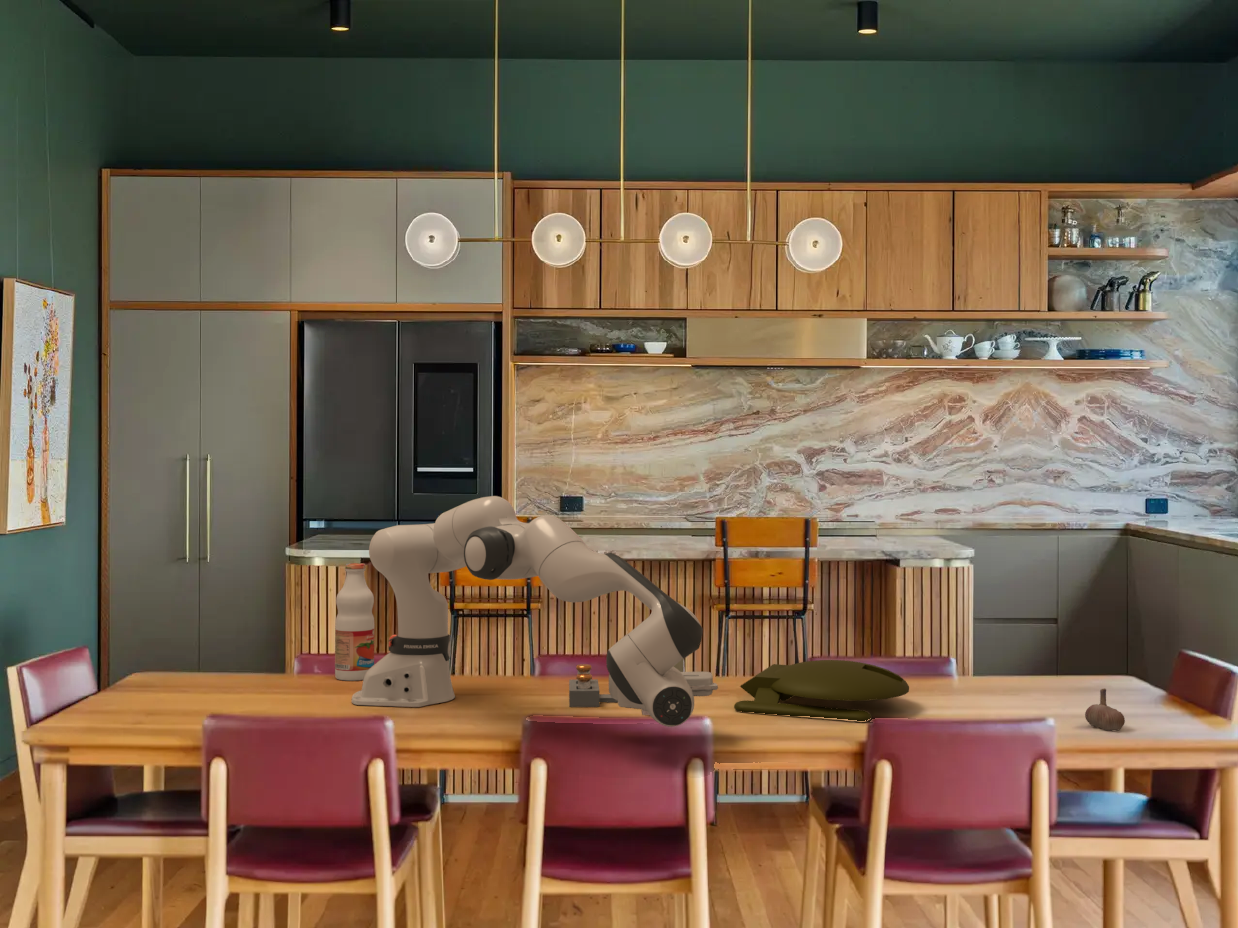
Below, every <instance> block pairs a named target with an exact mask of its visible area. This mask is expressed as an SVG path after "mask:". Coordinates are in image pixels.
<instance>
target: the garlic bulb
mask: <svg viewBox="0 0 1238 928" xmlns="http://www.w3.org/2000/svg"><path fill="white" fill-rule="evenodd" d="M1099 692H1100V693H1099V695H1100V696H1099V697H1100V698H1099V701H1100V702H1099V704H1098V703H1096V704H1095V703H1094V704H1091V705H1090V706H1089V707H1088V708H1087V709H1086V710H1085V712H1084V715H1085V716H1084V717H1085V720H1086V722H1087V723H1088V724H1089V725H1091V726H1092V727H1094V728H1100V729H1102V728H1103V730H1105V731H1111V730H1116V731H1119V730H1121V728H1123V727H1124V725H1125V722H1126V721H1125V720H1126V719H1125V715H1124V714H1123V713H1122V712H1121V711H1119V710H1117V708H1113V707H1111V706H1108V705H1107V689H1106V688H1101V689H1100V691H1099Z"/></svg>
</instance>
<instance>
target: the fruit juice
mask: <svg viewBox="0 0 1238 928" xmlns="http://www.w3.org/2000/svg"><path fill="white" fill-rule="evenodd" d="M344 569H345V573H346V577H345V580H344V583H343V586H342V587H341V589H340V590H339V592H338V593H337V594H336V598H335V603H336V608H337V615H336V617H335V625H334V627H335V628H334V629H335V634H334V635H335V637H334V640H335V641H334V645H335V646H334V677H335V679H337V680H339V681H348V682H350V681H351V682H353V681H363V680H364V676H365V674H366V672H367V671H368V670H369V669H370V668H371V667H372V666H373V665H374V664H375V627H376V626H375V616H374V614H373V607H374V603H375V597H374V596H375V595H374V593H373V592H372V590H371V589H370V587H368V584H367V580H366V577H365V571H366V569H367V568H366V563H361V562H360V563H359V562H357V563H356V562H355V563H345V565H344Z"/></svg>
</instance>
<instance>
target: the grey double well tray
mask: <svg viewBox="0 0 1238 928" xmlns="http://www.w3.org/2000/svg"><path fill="white" fill-rule="evenodd" d="M568 686H569V687H568V688H569V689H568V691H569V692H568V693H569V694H568V695H569V696H568V697H569V699H568V700H569V701H568V702H569V703H568V704H569V705H568V706H569V707H568V708H599V707H600V703H599V702H607V703H618V701H617V700H615V699H613V698H612V696H611V695H610V693H607V694H606V693H603V694H601V693H600V692H601V691H600V686H599V679H593V678H592V679H591V689H578V679H569V681H568Z"/></svg>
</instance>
